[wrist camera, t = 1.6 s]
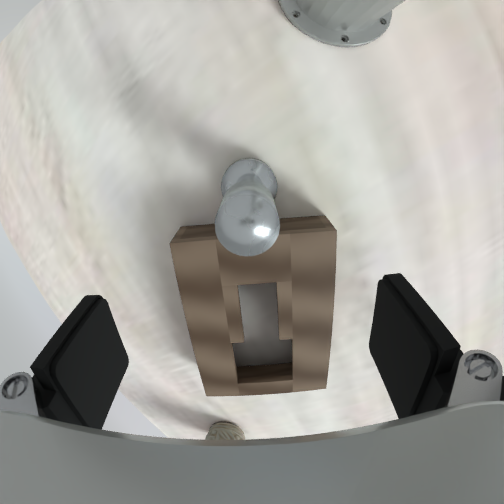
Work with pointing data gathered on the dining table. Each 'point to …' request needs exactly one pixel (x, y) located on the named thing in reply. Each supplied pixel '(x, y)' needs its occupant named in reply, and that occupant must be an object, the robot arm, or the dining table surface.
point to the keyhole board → (288, 301)
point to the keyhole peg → (248, 208)
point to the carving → (225, 432)
